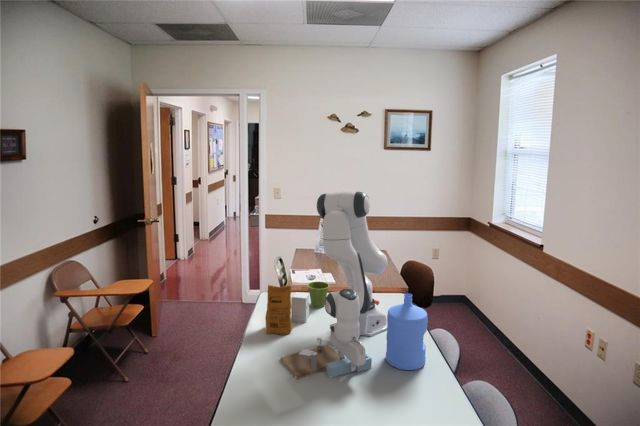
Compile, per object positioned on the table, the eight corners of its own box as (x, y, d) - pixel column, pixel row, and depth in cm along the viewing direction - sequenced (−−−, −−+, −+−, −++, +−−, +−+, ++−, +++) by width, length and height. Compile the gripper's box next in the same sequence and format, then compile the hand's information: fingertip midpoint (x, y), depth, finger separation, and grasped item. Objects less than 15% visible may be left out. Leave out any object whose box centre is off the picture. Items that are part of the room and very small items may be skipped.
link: (362, 360, 174) (362, 350, 173) (371, 367, 168) (371, 358, 168) (324, 371, 166) (324, 361, 165) (333, 379, 160) (333, 369, 159)
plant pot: (329, 309, 223) (329, 289, 220) (306, 309, 223) (306, 289, 221) (329, 301, 234) (329, 281, 232) (307, 300, 234) (307, 281, 232)
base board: (327, 347, 184) (327, 344, 184) (346, 363, 171) (346, 360, 171) (280, 360, 174) (280, 357, 174) (296, 378, 161) (296, 375, 161)
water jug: (402, 375, 163) (405, 305, 158) (378, 356, 177) (380, 291, 172) (433, 365, 170) (437, 298, 165) (408, 347, 184) (411, 285, 179)
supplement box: (306, 323, 207) (305, 298, 205) (291, 321, 209) (290, 297, 206) (309, 316, 214) (309, 292, 212) (295, 315, 216) (294, 291, 213)
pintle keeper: (315, 349, 180) (315, 336, 179) (329, 352, 177) (329, 339, 176) (298, 367, 166) (298, 353, 165) (314, 371, 163) (314, 357, 162)
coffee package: (267, 325, 205) (266, 281, 201) (293, 326, 204) (293, 281, 200) (263, 335, 195) (262, 288, 191) (291, 335, 194) (290, 289, 190)
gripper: (370, 341, 156) (369, 376, 159) (341, 320, 174) (340, 351, 177) (355, 345, 154) (355, 381, 156) (327, 323, 171) (327, 355, 174)
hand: (347, 365), depth 167 cm, fingers open, 6 cm apart
